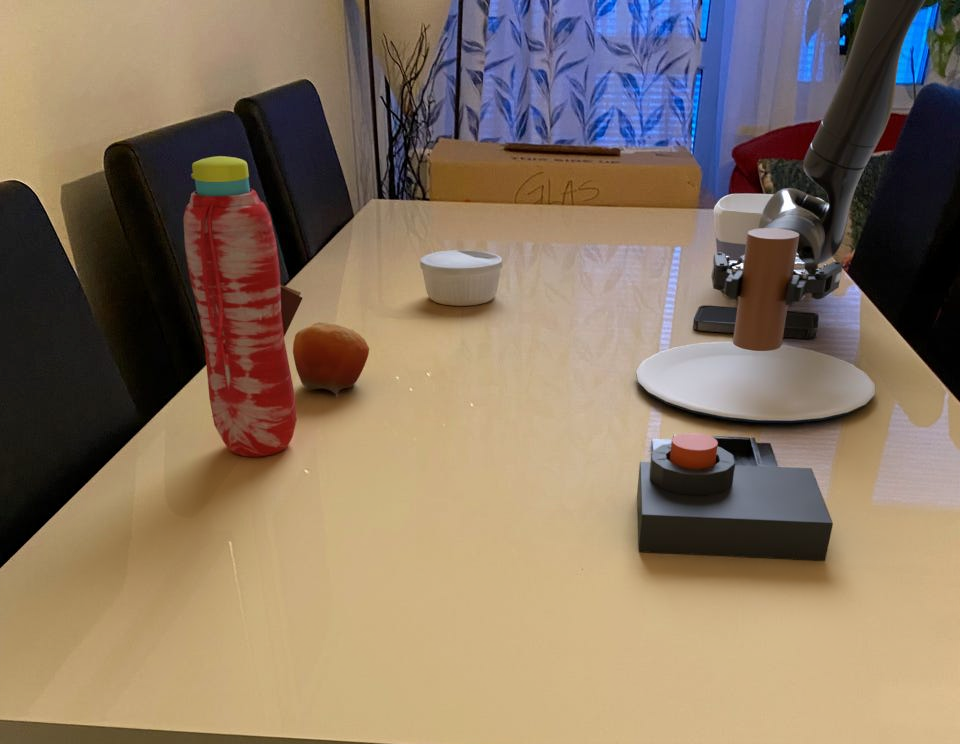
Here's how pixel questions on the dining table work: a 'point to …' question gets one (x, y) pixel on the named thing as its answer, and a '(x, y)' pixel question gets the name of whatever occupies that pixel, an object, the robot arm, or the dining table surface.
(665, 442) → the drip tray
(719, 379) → the plate
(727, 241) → the white and lavender bin
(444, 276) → the ramekin
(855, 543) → the dining table surface
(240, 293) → the water bottle
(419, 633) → the dining table surface
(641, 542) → the red push button box
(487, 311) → the dining table surface
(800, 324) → the phone
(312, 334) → the fruit
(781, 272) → the tall brown tube
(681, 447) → the button
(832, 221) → the robot arm
